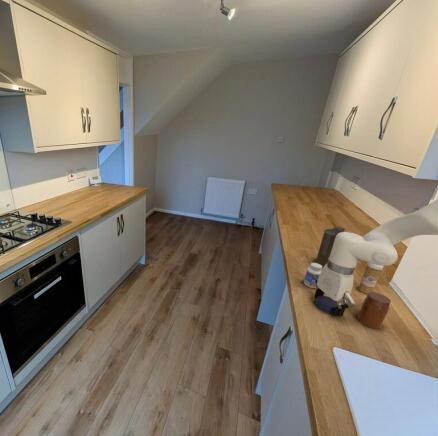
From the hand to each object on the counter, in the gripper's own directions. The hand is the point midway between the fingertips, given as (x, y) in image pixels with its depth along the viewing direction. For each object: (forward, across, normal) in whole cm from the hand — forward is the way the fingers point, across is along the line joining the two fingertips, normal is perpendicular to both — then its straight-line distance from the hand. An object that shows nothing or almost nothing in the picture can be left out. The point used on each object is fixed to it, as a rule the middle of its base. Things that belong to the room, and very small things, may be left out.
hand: (327, 306), depth 89 cm
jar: (0, +7, +9) cm, 12 cm away
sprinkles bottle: (+1, -9, +24) cm, 25 cm away
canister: (+1, -30, +23) cm, 38 cm away
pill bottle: (+1, -14, +4) cm, 14 cm away
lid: (-2, 0, 0) cm, 2 cm away
